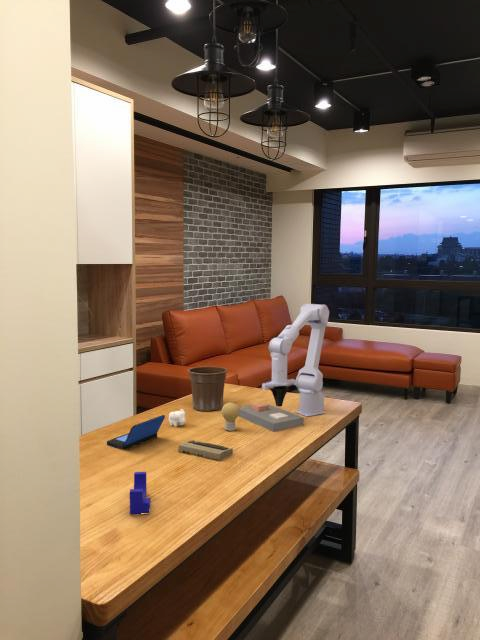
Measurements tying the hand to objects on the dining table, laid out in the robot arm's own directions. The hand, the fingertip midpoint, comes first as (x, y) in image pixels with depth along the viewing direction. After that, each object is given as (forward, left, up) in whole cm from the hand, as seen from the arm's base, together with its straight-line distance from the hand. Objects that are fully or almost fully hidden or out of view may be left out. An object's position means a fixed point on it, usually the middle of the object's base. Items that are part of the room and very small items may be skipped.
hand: (279, 405), depth 199 cm
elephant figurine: (+33, -19, -7) cm, 39 cm away
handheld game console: (+53, -10, -8) cm, 54 cm away
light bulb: (+19, -4, -7) cm, 21 cm away
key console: (0, -6, -7) cm, 9 cm away
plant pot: (+11, -34, -7) cm, 36 cm away
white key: (0, 0, -7) cm, 7 cm away
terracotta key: (0, -12, -5) cm, 13 cm away
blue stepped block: (+69, +33, -7) cm, 77 cm away
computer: (+38, +11, -8) cm, 40 cm away
